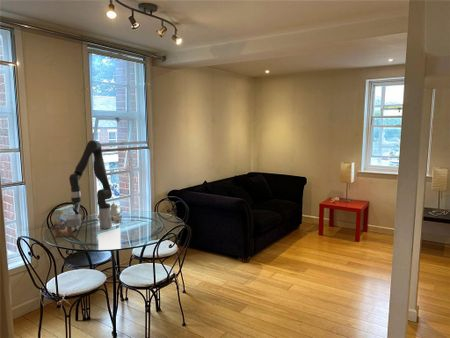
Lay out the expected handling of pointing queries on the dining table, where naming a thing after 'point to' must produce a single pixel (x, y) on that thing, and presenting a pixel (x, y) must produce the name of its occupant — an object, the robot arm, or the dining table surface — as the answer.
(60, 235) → the deck
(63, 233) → the roller
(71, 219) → the slab
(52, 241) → the dining table surface
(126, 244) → the dining table surface
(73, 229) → the roller front
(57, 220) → the snack box
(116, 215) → the chinaware
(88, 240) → the dining table surface
